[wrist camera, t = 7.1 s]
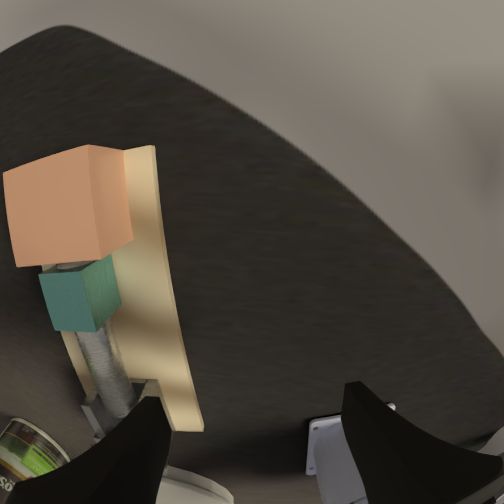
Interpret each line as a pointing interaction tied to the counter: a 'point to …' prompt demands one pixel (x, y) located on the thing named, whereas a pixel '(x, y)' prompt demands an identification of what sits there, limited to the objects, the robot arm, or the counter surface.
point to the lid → (190, 489)
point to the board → (146, 301)
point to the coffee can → (26, 454)
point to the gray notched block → (106, 422)
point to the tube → (91, 324)
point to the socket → (68, 206)
